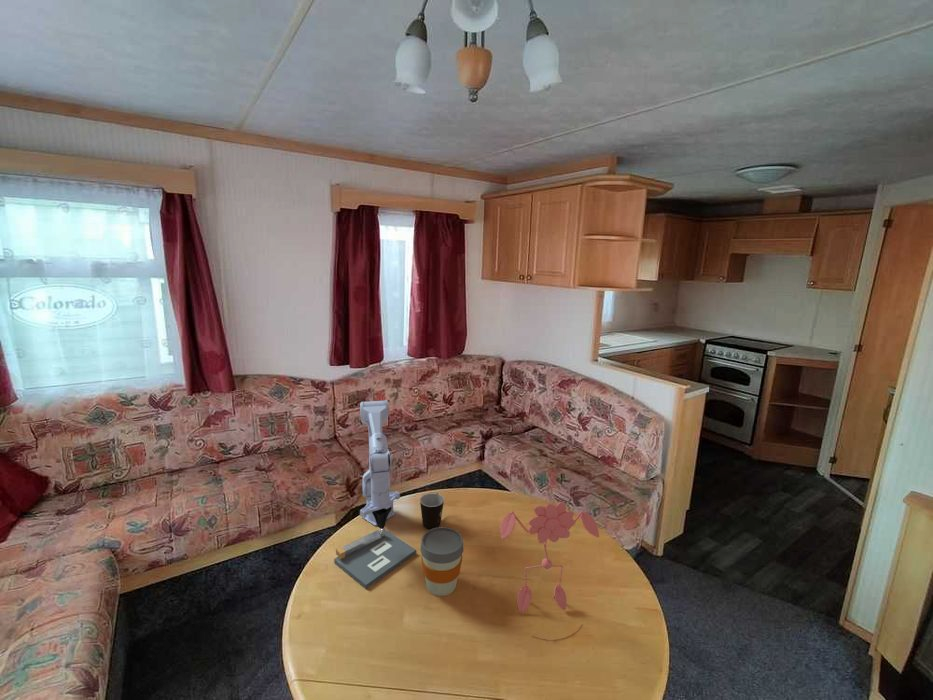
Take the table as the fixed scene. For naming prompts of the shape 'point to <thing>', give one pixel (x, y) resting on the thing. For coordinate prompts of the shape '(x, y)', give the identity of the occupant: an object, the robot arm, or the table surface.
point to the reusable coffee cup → (441, 559)
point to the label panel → (375, 559)
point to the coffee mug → (431, 510)
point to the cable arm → (358, 544)
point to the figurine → (548, 526)
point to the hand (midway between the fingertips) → (380, 526)
